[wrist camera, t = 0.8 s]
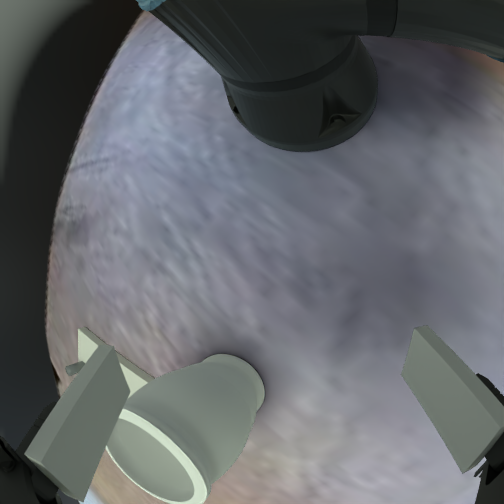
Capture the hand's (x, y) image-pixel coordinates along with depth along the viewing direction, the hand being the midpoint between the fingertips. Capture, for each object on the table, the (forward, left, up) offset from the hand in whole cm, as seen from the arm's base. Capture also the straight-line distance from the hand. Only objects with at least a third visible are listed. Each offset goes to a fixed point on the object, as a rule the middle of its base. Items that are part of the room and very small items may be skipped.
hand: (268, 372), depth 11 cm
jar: (+13, -6, -15) cm, 21 cm away
